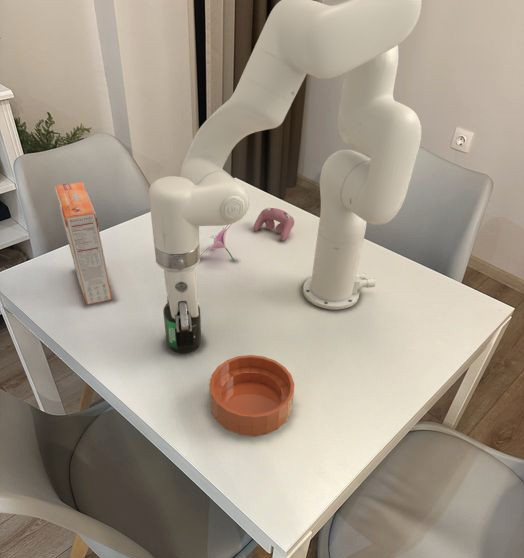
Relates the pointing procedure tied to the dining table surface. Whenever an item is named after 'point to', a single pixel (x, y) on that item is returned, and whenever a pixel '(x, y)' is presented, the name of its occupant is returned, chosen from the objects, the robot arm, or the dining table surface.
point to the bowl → (251, 395)
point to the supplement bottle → (171, 326)
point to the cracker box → (84, 241)
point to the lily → (219, 241)
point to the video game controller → (279, 215)
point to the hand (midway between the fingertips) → (183, 331)
